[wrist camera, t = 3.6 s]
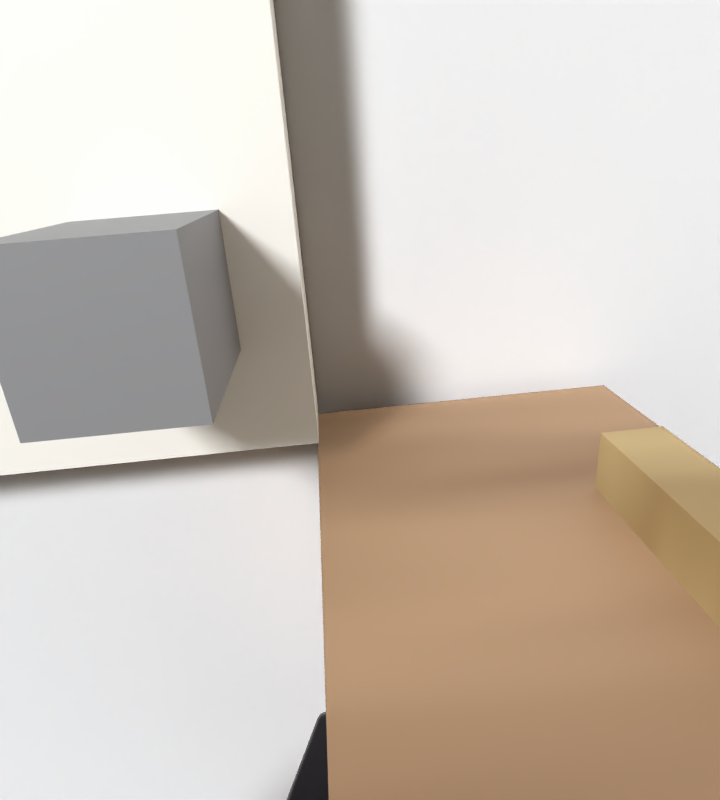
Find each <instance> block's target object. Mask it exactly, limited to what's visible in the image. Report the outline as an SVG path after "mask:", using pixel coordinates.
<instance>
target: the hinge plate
mask: <svg viewBox="0 0 720 800" xmlns="http://www.w3.org/2000/svg"><path fill="white" fill-rule="evenodd" d="M315 443H319V428H318V403H317V393H316V384H315V375H314V366H313V357H312V348H311V339H310V330H309V321H308V312H307V303H306V293H305V284H304V275H303V266H302V257H301V248H300V239H299V230H298V221H297V212H296V203H295V193H294V184H293V175H292V166H291V157H290V148H289V139H288V130H287V121H286V112H285V103H284V93H283V84H282V75H281V66H280V57H279V48H278V39H277V30H276V21H275V12H274V2H273V0H0V475H10V474H20V473H30V472H39V471H49V470H59V469H69V468H79V467H89V466H99V465H108V464H118V463H128V462H138V461H148V460H158V459H167V458H177V457H187V456H197V455H207V454H217V453H226V452H236V451H246V450H256V449H266V448H276V447H285V446H295V445H305V444H315Z"/></svg>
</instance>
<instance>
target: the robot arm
mask: <svg viewBox="0 0 720 800" xmlns="http://www.w3.org/2000/svg"><path fill="white" fill-rule="evenodd" d="M287 800H329V792H328V759H327V727H326V712H323V713H321V714H320V715H319V717H318V719H317V721H316V724H315V727H314V729H313V732H312V734H311V737H310V740H309V742H308V745H307V748H306V750H305V753H304V756H303V758H302V761H301V763H300V766H299V769H298V771H297V774H296V777H295V779H294V782H293V785H292V787H291V790H290V792H289V795H288V798H287Z"/></svg>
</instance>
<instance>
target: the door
mask: <svg viewBox="0 0 720 800" xmlns="http://www.w3.org/2000/svg"><path fill="white" fill-rule="evenodd" d="M318 428H319V443H318V465H319V497H320V530H321V563H322V596H323V628H324V661H325V694H326V727H327V759H328V792H329V800H720V468H718V467H717V466H716V465H714V464H713V463H712V462H710V461H709V460H707V459H706V458H705V457H703V456H702V455H701V454H699V453H698V452H697V451H695V450H694V449H693V448H691V447H690V446H688V445H687V444H686V443H684V442H683V441H682V440H680V439H679V438H678V437H676V436H675V435H673V434H672V433H671V432H669V431H668V430H667V429H665V428H664V427H663V426H662V427H659V426H658V425H656V424H655V423H654V422H652V421H651V420H650V419H648V418H647V417H646V416H644V415H643V414H642V413H640V412H639V411H638V410H636V409H635V408H633V407H632V406H631V405H629V404H628V403H627V402H625V401H624V400H623V399H621V398H620V397H619V396H617V395H616V394H615V393H613V392H612V391H611V390H609V389H608V388H607V387H605V386H604V385H602V386H592V387H582V388H572V389H562V390H552V391H542V392H532V393H522V394H512V395H502V396H492V397H481V398H471V399H461V400H451V401H441V402H431V403H421V404H411V405H401V406H391V407H381V408H371V409H361V410H350V411H340V412H330V413H320V414H318Z"/></svg>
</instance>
